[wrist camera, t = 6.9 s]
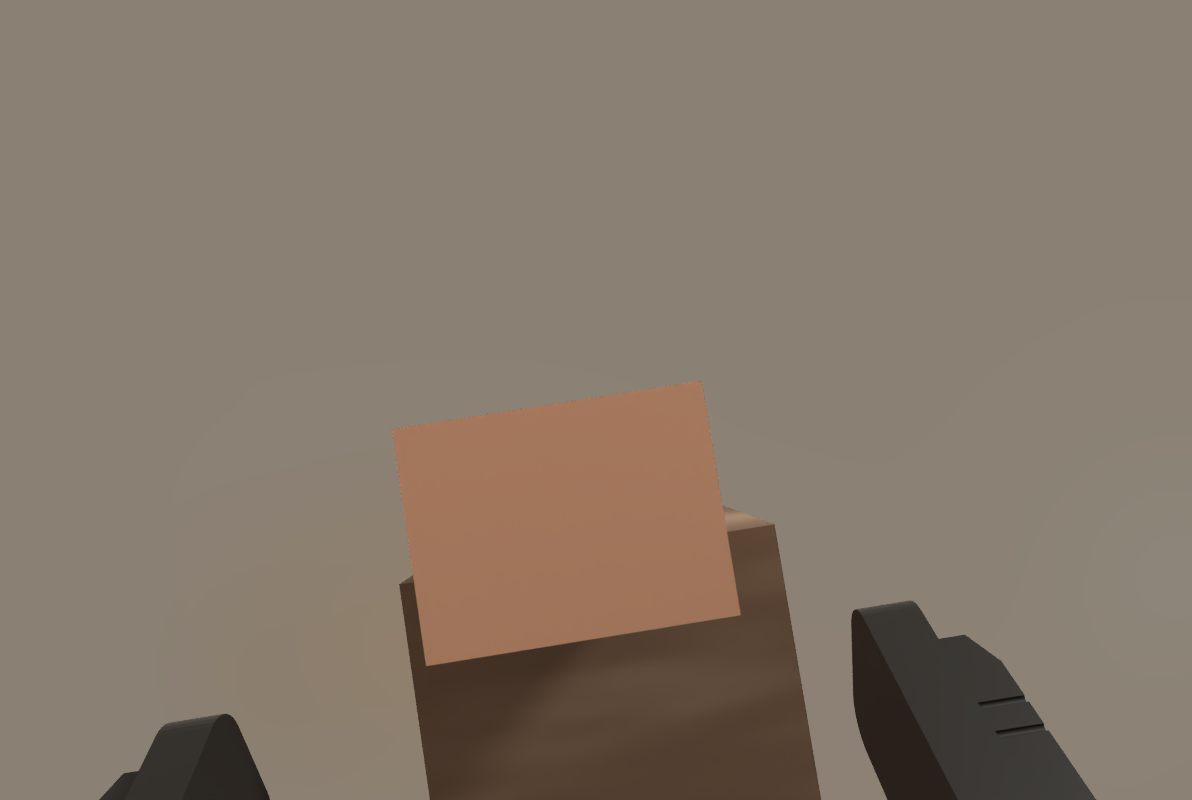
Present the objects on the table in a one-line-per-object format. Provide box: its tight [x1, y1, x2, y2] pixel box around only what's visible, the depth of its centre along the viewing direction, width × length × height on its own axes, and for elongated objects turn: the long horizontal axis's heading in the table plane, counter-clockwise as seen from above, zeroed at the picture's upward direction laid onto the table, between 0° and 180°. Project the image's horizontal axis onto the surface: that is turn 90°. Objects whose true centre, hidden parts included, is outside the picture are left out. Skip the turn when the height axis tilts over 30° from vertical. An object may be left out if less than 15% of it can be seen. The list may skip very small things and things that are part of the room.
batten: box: [392, 381, 741, 666], centre depth 23 cm, size 24×4×3 cm, turn 0°
